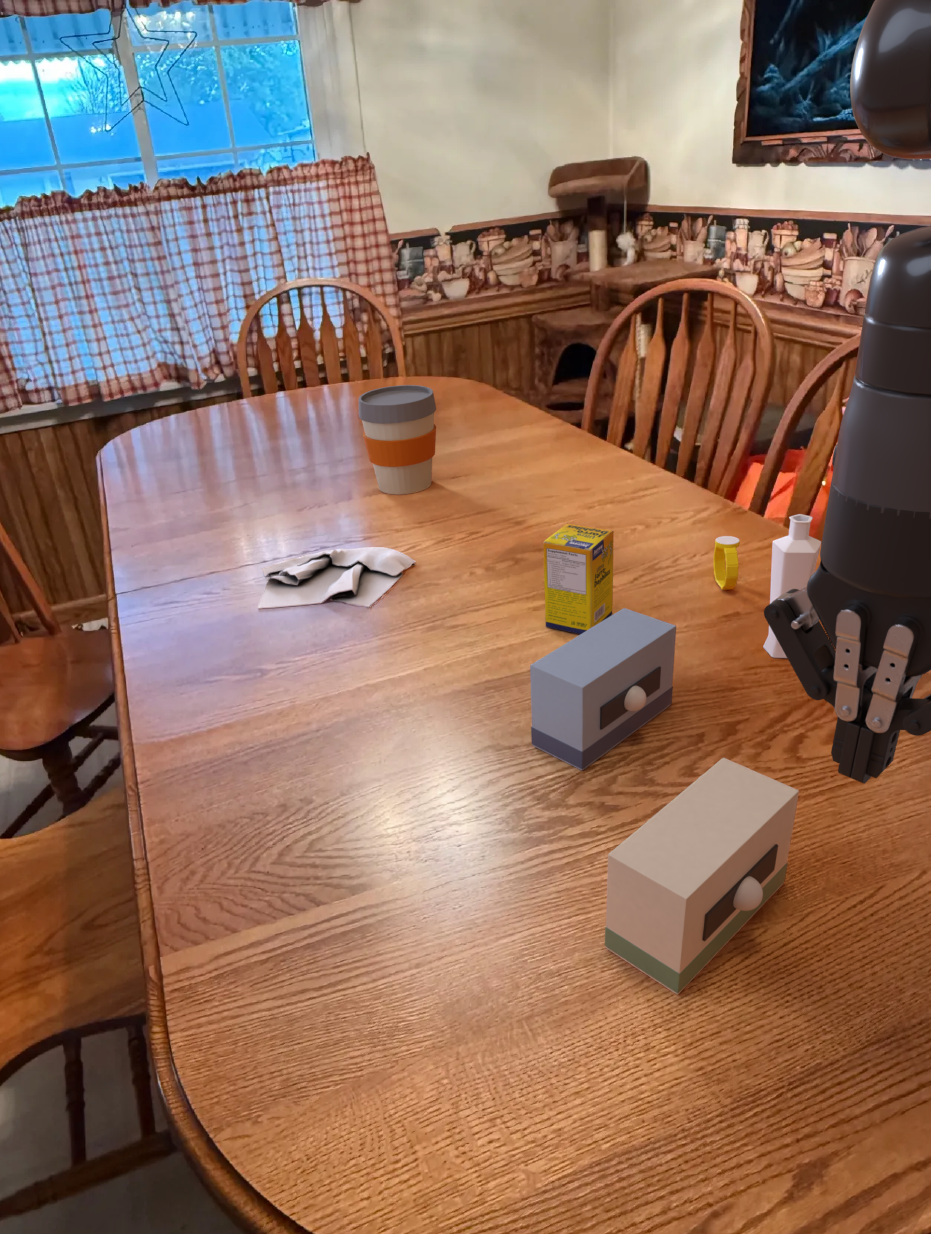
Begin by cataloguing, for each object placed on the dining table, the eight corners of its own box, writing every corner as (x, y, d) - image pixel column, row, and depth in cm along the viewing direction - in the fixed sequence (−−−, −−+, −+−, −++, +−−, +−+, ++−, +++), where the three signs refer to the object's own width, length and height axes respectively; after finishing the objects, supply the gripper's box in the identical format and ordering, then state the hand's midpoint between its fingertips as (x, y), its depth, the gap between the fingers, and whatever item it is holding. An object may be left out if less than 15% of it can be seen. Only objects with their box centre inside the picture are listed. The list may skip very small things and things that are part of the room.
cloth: (435, 559, 124) (434, 543, 122) (338, 629, 109) (335, 612, 107) (321, 538, 134) (319, 522, 133) (218, 599, 119) (214, 582, 118)
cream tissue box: (713, 846, 72) (722, 756, 67) (803, 893, 67) (820, 799, 62) (604, 948, 64) (606, 854, 59) (696, 1009, 59) (707, 912, 54)
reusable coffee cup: (416, 502, 143) (407, 408, 136) (353, 493, 149) (341, 402, 142) (455, 476, 152) (449, 386, 144) (394, 469, 158) (384, 382, 150)
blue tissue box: (621, 684, 93) (624, 607, 88) (684, 710, 88) (691, 630, 83) (531, 745, 85) (528, 665, 81) (595, 778, 80) (596, 694, 76)
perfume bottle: (751, 651, 96) (766, 520, 88) (773, 636, 98) (790, 506, 91) (791, 666, 93) (810, 531, 85) (812, 649, 95) (834, 517, 88)
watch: (742, 595, 107) (747, 549, 104) (718, 597, 107) (722, 551, 104) (728, 574, 112) (732, 529, 109) (706, 575, 112) (709, 531, 109)
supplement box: (613, 615, 106) (615, 529, 100) (591, 638, 102) (592, 549, 96) (567, 606, 109) (566, 521, 103) (544, 627, 105) (542, 540, 99)
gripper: (1113, 480, 39) (1011, 789, 48) (822, 433, 48) (782, 702, 57) (1054, 534, 35) (955, 861, 44) (747, 472, 44) (717, 756, 53)
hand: (857, 771), depth 51 cm, fingers closed
